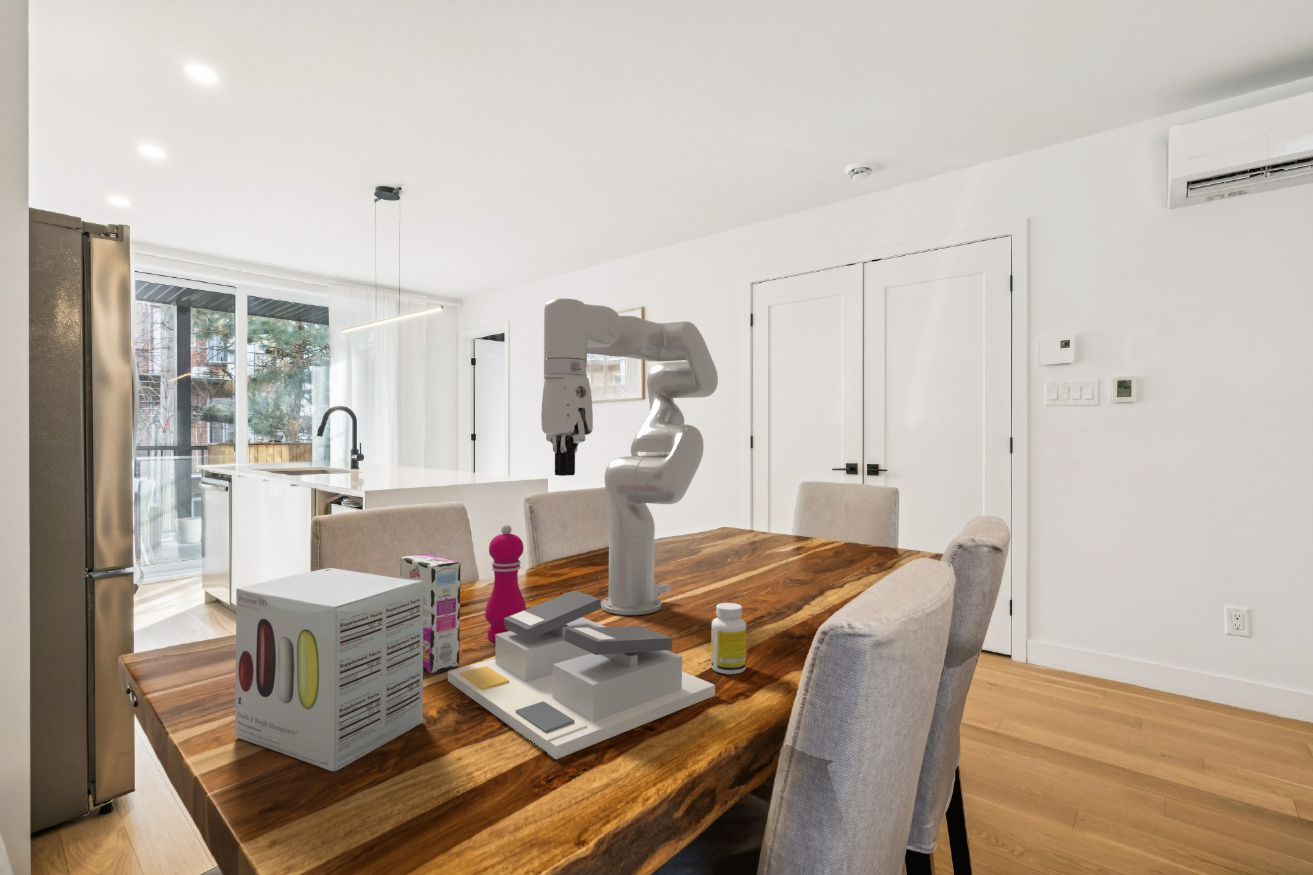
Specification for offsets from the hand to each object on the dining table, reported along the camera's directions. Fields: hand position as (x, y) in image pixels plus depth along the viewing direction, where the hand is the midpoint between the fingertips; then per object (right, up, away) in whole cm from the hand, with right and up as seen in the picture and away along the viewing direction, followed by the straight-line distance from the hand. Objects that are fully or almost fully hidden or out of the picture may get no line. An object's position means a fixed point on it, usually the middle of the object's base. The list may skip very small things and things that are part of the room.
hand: (564, 475), depth 110 cm
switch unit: (+5, -29, -21) cm, 36 cm away
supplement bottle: (+27, -30, -13) cm, 42 cm away
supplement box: (-23, -29, -34) cm, 51 cm away
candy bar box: (-20, -29, -11) cm, 37 cm away
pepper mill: (-11, -29, +1) cm, 31 cm away
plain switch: (+11, -21, -26) cm, 35 cm away
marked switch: (0, -21, -14) cm, 25 cm away
